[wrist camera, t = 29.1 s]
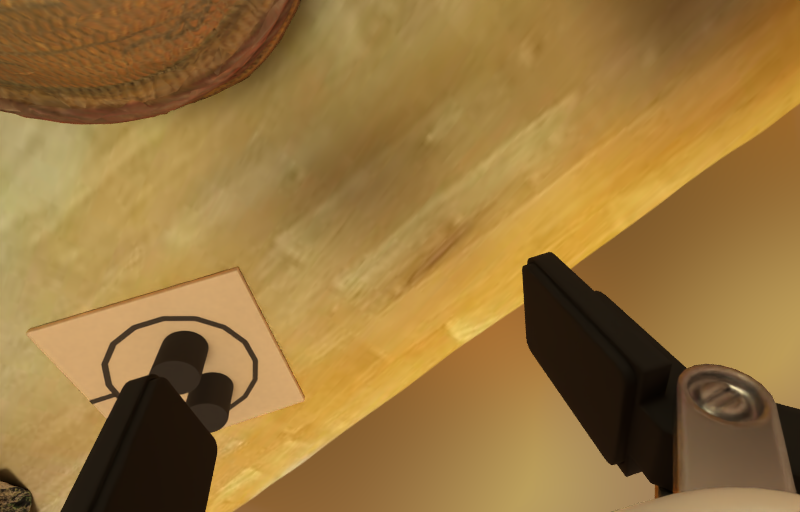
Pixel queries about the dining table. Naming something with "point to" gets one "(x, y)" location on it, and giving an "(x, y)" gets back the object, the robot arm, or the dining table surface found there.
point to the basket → (129, 54)
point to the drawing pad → (152, 322)
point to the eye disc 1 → (181, 360)
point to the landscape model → (14, 498)
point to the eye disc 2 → (212, 400)
